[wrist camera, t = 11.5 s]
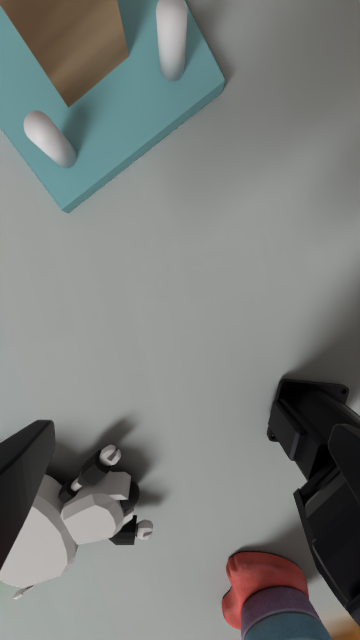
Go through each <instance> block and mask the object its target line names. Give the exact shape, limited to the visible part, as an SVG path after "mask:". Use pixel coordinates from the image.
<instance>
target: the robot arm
mask: <svg viewBox="0 0 360 640" xmlns="http://www.w3.org/2000/svg"><path fill="white" fill-rule="evenodd" d="M285 384H287V385H286V386H284V385H285ZM342 390H343V391H342ZM348 393H349V389H348V388H347V387H346V386H344V385H340V384H330V383H320V382H310V381H299V380H289V379H283V380H281V381H280V383H279V386H278V390H277V394H276V398H275V401H274V402H273V406H272V410H271V414H270V418H269V422H268V425H269V427H268V431H267V437H268V438H269V440H270V441H273V442H279V443H280V444H281V446H282V448H283V449H284V451H285V453H286V454H287V456H288V458H289V459H290V460H291V461H295V462H296V464H297V465H298V467H299V469H300V470H301V472H302V473H303V475H304V477H305V478H306V480H307V481H308V482H307V483H306V484H304V485H303V486H302V487H301V488H300V489H299V488H298V489H297V490H296V491H295V492H294V493H293V495H294V499H295V502H296V505H297V508H298V512H299V515H300V518H301V521H302V525H303V528H304V531H305V534H306V538H307V541H308V544H309V547H310V550H311V553H312V556H313V558H314V562H315V565H316V567H317V569H318V571H319V573H320V574H321V575H322V577H323V578H324V579H325V581H326V583H327V584H328V586H329V587H330V589H331V590H332V592H333V593H334V595H335V596H336V597H337V599H338V600H339V601H340V603H341V604H342V605H343V607H344V608H345V609H346V610H347V611H348V613H349V614H350V615H351V617H352V618H353V619H354V620H355V621H356V623H357V624H358V625H359V626H360V416H359V415H358V414H357V413H356V412H354V411H353V410H352V409H351V408H349V407H348V406H347V405H345V403H346V400H347V396H348ZM272 435H274V436H272ZM54 449H55V431H54V423H53V421H52V420H37V421H35V422H33V423H31V424H30V425H28V426H27V427H25V428H23V429H22V430H20V431H19V432H17V433H15V434H14V435H12V436H11V437H9V438H7V439H6V440H4V441H3V442H1V443H0V571H1V569H2V567H3V565H4V563H5V561H6V559H7V557H8V555H9V553H10V551H11V549H12V547H13V545H14V543H15V541H16V539H17V537H18V535H19V533H20V531H21V529H22V527H23V525H24V523H25V520H26V518H27V516H28V514H29V512H30V510H31V507H32V505H33V502H34V500H35V497H36V495H37V492H38V490H39V487H40V485H41V482H42V480H43V477H44V475H45V472H46V470H47V467H48V465H49V462H50V460H51V457H52V455H53V452H54Z"/></svg>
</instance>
